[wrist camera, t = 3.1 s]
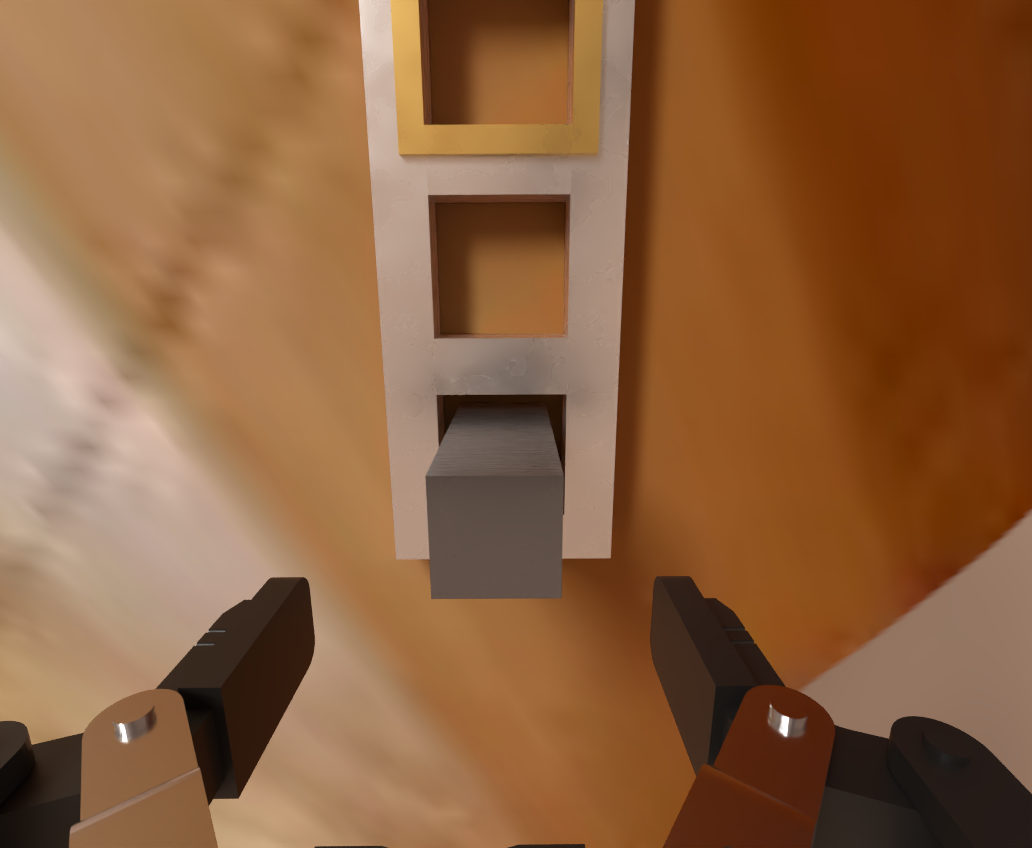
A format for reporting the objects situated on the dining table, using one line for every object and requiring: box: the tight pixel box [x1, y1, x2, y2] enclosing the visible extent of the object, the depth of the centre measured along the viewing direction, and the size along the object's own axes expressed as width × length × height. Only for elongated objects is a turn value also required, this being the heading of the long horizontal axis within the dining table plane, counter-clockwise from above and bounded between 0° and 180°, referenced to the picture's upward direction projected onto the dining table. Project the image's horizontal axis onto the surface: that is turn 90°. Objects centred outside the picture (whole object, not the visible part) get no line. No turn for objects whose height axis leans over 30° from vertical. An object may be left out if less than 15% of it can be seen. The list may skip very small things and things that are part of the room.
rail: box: [359, 0, 635, 559], centre depth 22 cm, size 10×26×2 cm, turn 0°
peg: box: [425, 403, 564, 599], centre depth 21 cm, size 4×4×10 cm
